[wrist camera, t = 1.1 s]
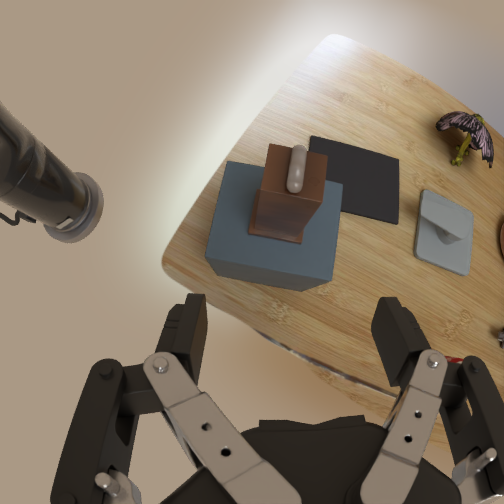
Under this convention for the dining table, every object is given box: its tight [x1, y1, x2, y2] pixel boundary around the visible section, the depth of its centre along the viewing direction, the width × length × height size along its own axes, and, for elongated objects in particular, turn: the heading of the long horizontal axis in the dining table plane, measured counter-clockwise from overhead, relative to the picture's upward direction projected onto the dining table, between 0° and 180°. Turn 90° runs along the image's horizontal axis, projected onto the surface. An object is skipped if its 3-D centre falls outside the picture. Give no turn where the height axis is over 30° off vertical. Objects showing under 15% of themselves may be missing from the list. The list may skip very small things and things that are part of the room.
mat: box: [309, 135, 399, 225], centre depth 46 cm, size 16×12×1 cm
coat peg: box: [248, 144, 328, 245], centre depth 24 cm, size 5×4×11 cm
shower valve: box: [414, 190, 474, 276], centre depth 43 cm, size 12×6×15 cm
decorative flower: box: [436, 111, 494, 168], centre depth 44 cm, size 14×12×15 cm
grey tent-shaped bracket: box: [205, 161, 343, 292], centre depth 36 cm, size 12×10×15 cm
